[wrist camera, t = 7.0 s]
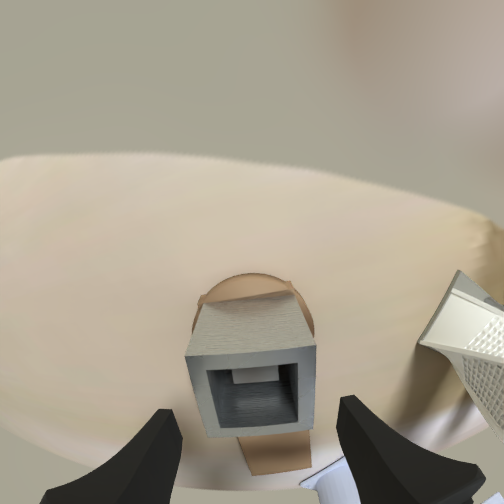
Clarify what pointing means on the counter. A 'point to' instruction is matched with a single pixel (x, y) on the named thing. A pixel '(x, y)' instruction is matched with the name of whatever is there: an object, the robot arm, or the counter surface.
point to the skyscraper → (472, 345)
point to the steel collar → (253, 355)
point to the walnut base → (276, 443)
